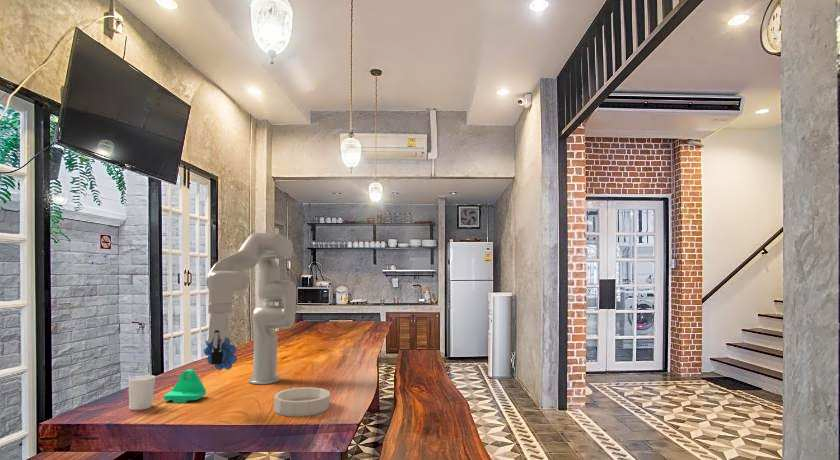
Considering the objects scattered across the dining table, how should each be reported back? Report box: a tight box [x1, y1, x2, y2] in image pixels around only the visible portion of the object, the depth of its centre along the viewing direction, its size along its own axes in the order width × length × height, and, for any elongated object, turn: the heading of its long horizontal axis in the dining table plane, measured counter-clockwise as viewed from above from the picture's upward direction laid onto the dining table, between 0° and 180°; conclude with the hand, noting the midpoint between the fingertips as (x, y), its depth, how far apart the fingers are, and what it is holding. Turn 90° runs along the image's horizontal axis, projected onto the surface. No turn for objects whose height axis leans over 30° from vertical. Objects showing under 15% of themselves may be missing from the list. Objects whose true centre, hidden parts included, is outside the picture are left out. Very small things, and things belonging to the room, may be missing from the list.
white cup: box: [128, 374, 156, 411], centre depth 164 cm, size 8×8×10 cm
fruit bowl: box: [273, 386, 331, 418], centre depth 164 cm, size 18×18×5 cm
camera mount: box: [163, 368, 207, 404], centre depth 174 cm, size 12×8×10 cm, turn 92°
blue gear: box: [203, 337, 238, 371], centre depth 162 cm, size 12×7×12 cm, turn 86°
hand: (218, 361), depth 162 cm, fingers closed on blue gear, 6 cm apart
